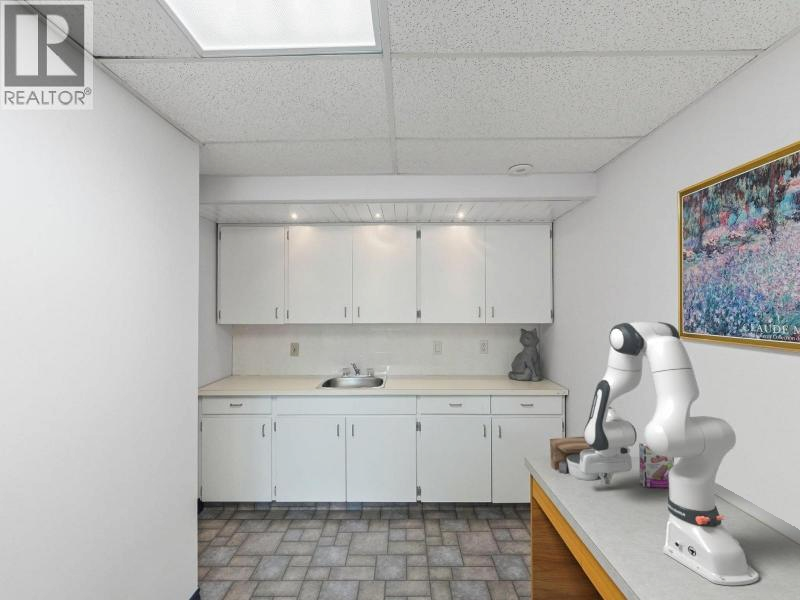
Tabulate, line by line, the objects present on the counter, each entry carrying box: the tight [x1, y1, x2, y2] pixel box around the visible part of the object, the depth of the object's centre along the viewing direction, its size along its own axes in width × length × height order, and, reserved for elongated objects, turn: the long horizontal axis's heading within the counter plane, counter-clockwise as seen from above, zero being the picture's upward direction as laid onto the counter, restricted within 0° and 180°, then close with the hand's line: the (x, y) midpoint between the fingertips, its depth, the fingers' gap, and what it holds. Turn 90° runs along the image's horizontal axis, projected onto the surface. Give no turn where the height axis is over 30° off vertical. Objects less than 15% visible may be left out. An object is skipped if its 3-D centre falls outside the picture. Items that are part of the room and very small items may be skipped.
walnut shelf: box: [549, 436, 592, 475], centre depth 179 cm, size 14×19×12 cm
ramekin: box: [567, 454, 600, 481], centre depth 175 cm, size 13×13×7 cm
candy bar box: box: [638, 442, 675, 489], centre depth 163 cm, size 11×5×16 cm, turn 84°
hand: (606, 483), depth 160 cm, fingers closed
